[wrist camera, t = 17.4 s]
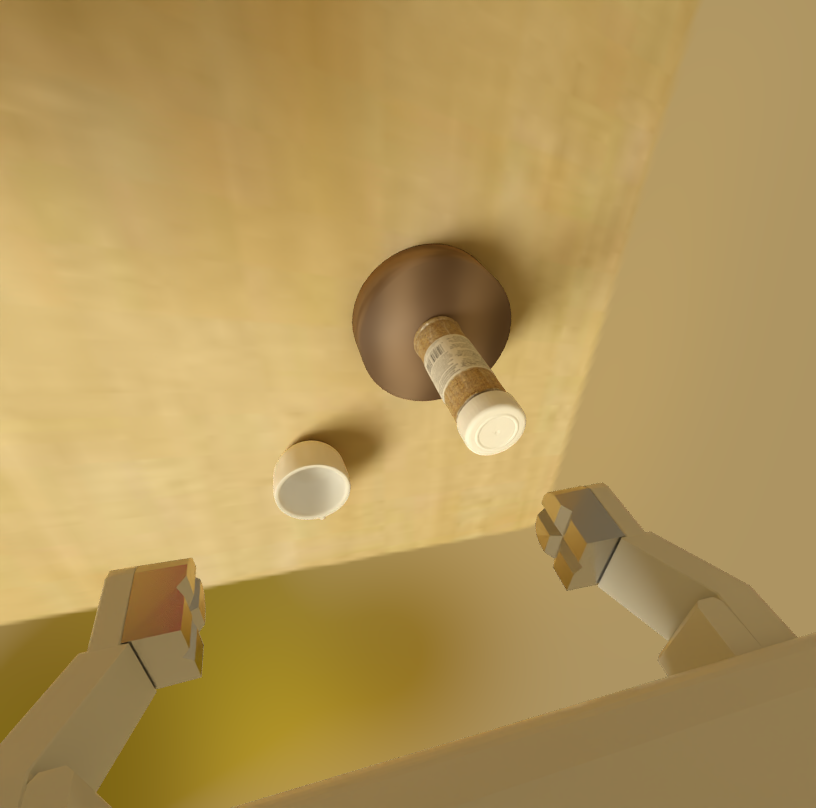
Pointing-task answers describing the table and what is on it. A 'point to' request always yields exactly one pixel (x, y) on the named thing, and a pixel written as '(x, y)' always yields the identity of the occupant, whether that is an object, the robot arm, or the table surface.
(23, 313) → the table surface
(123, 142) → the table surface
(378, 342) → the disc
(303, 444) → the teacup
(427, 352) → the sprinkles bottle
